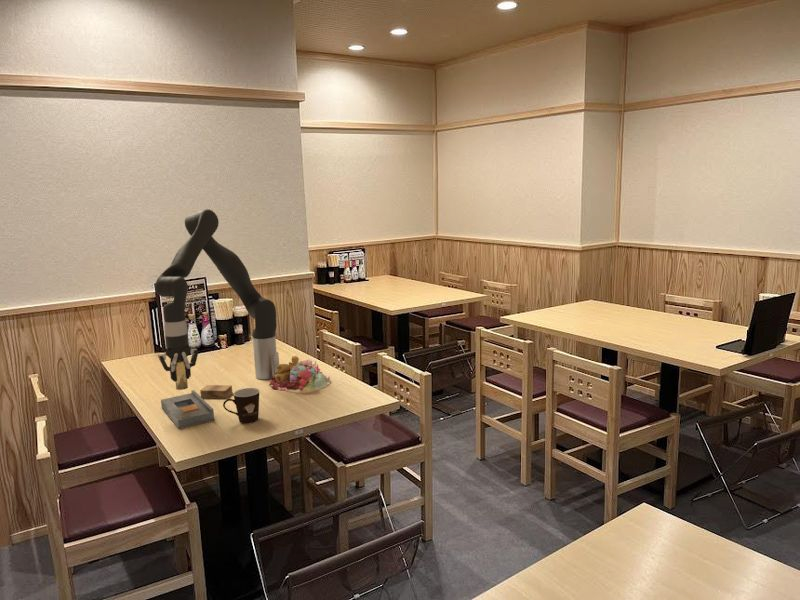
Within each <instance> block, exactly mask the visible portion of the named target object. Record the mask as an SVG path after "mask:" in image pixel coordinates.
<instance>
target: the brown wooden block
mask: <svg viewBox="0 0 800 600" xmlns="http://www.w3.org/2000/svg"><path fill="white" fill-rule="evenodd" d="M232 386H233V385H231V384H230V385H226V384H222V385H219V384H213V385H212V384H206V385H205V386H204V387H203V388H202V389H200V396H201V397H202V398H203V399H227V398H228V397H229V396H230V395H232V394H233V387H232Z"/></svg>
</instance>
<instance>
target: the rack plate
mask: <svg viewBox="0 0 800 600" xmlns="http://www.w3.org/2000/svg"><path fill="white" fill-rule="evenodd" d="M190 392H191V393H185V394H182V395H181V394H180V395H176V396H172V397H167V398H164V399H160V404H161V405H160V406H161V408H162V410H163V411H164V413H166V415H167V416H168V418H169V419H170V420H171V421H172V423H173V424H175V427H176V428H177V429H178V430H180V429H183V428H184V429H185V428H187V427H191V426H195V425H199V424H205V423H209V422H212V421H215V413H214V408H213V407H212V406H211V405H210V404H209V403H208V402H207V401H206V400H205V398H202V397H201V395H200V394H199V393H197V392H196V391H195V390H194V389H193V390H191V391H190Z"/></svg>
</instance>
